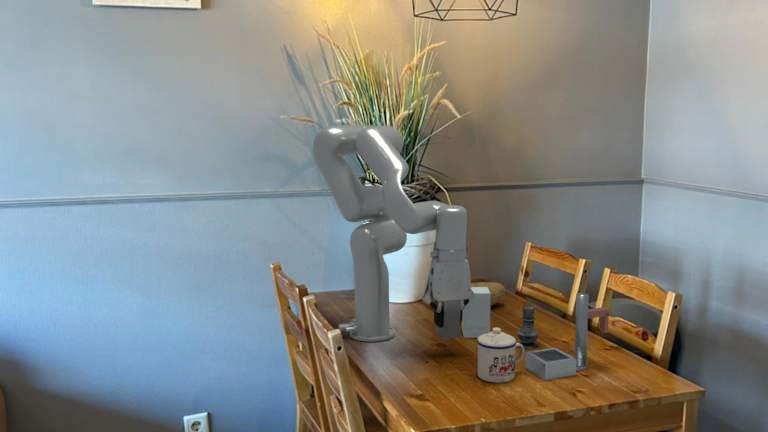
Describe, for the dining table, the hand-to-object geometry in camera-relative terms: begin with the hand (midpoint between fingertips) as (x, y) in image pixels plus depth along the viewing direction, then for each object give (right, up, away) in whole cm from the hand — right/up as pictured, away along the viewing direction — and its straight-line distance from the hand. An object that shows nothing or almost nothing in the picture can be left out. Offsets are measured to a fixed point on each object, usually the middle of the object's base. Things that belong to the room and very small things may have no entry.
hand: (447, 324), depth 180 cm
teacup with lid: (+11, -10, -13) cm, 20 cm away
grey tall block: (0, -3, +1) cm, 3 cm away
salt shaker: (+22, -7, +7) cm, 24 cm away
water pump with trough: (+29, -9, -9) cm, 31 cm away
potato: (+15, -1, +44) cm, 47 cm away
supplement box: (+9, -6, +18) cm, 21 cm away
